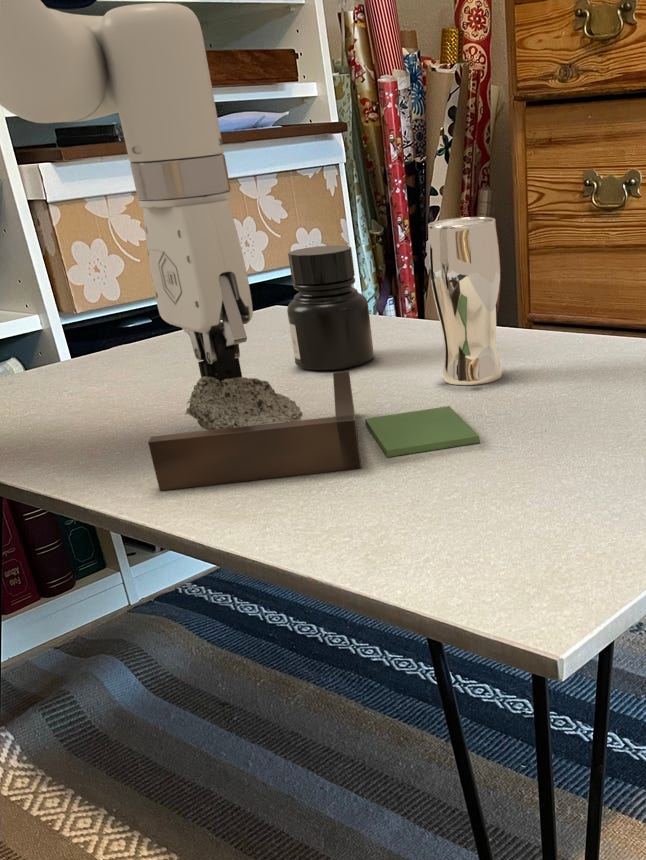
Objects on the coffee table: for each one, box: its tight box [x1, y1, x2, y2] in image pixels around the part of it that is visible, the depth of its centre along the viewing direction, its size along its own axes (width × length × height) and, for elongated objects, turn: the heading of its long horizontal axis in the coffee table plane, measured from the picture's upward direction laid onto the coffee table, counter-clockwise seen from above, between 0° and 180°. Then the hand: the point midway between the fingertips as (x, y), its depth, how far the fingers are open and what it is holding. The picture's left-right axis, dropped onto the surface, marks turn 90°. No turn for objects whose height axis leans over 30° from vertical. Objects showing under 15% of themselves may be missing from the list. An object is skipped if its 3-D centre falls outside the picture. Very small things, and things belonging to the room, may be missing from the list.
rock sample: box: [184, 374, 303, 431], centre depth 86 cm, size 10×8×9 cm
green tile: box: [364, 405, 481, 458], centre depth 86 cm, size 8×10×1 cm
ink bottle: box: [286, 244, 375, 371], centre depth 108 cm, size 10×9×12 cm
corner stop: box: [147, 370, 362, 492], centre depth 84 cm, size 16×16×4 cm
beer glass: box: [427, 216, 503, 386], centre depth 98 cm, size 7×7×15 cm
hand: (227, 403), depth 90 cm, fingers closed
